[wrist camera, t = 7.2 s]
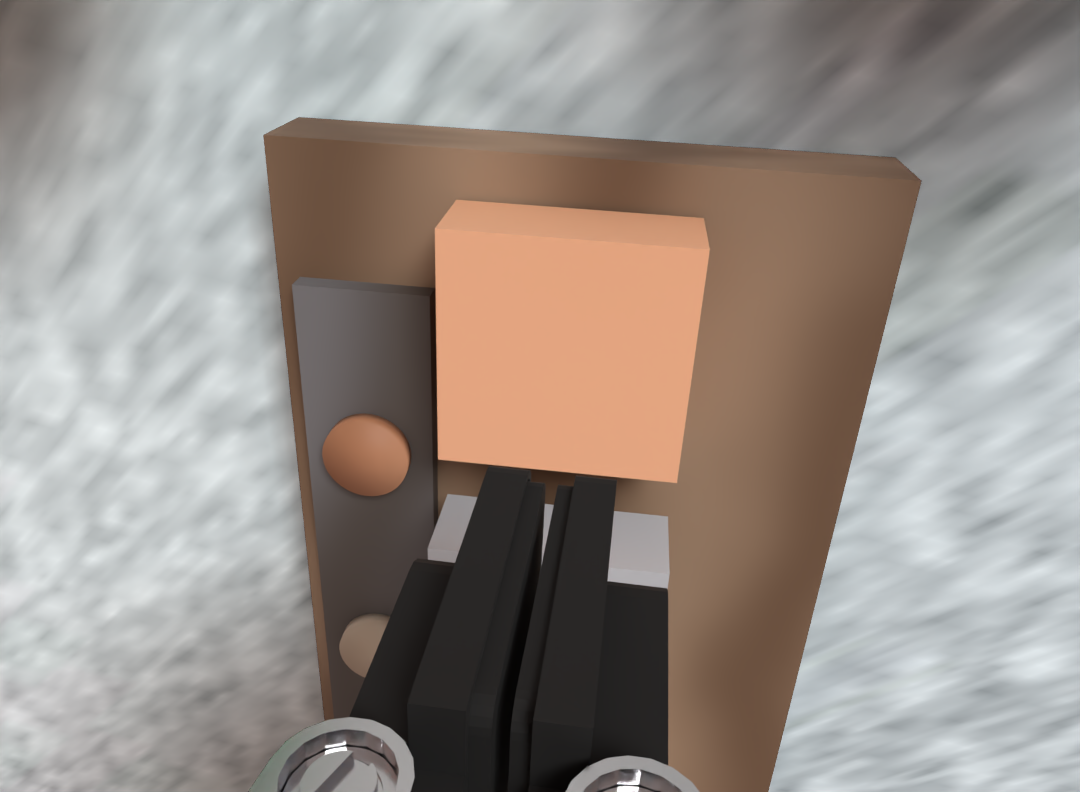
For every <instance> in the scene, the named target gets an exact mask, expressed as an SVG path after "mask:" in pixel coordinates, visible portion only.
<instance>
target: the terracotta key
mask: <svg viewBox="0 0 1080 792" xmlns="http://www.w3.org/2000/svg"><path fill="white" fill-rule="evenodd" d="M709 252H710V248H709V243H708V237H707V232H706V227H705V221H704V218H697V217H683V216H670V215H656V214H643V213H629V212H616V211H602V210H589V209H575V208H562V207H548V206H535V205H522V204H508V203H495V202H481V201H468V200H456V201H455V202H454V204H453V205H452V206H451V208H450V209H449V210H448V212H447V213H446V214H445V216H444V217H443V218H442V220H441V221H440V222H439V224H438V225H437V226H436V228H435V276H436V346H437V417H438V460H448V461H458V462H469V463H479V464H489V465H499V466H509V467H519V468H529V469H539V470H550V471H560V472H570V473H580V474H590V475H600V476H610V477H620V478H631V479H641V480H651V481H661V482H671V483H677V479H678V472H679V465H680V458H681V451H682V444H683V436H684V429H685V422H686V415H687V408H688V401H689V394H690V387H691V380H692V373H693V366H694V358H695V351H696V344H697V337H698V330H699V323H700V316H701V309H702V302H703V295H704V288H705V281H706V273H707V266H708V259H709Z"/></svg>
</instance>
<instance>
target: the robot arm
mask: <svg viewBox="0 0 1080 792" xmlns="http://www.w3.org/2000/svg"><path fill="white" fill-rule="evenodd" d="M616 486H617V480H615V479H606V478H597V477H588V476H578V475H576V476H575V481H574V486H568V485H558V487H557V491H556V496H555V501H554V506H553V511H552V516H551V521H550V526H549V531H548V536H547V541H546V546H545V551H544V556H543V560H542V546H543V528H544V510H545V492H546V485H545V483H540V482H531V471H530V470H523V469H514V468H505V467H495V466H489V467H488V469H487V471H486V474H485V477H484V479H483V482H482V485H481V488H480V491H479V494H478V497H477V500H476V503H475V506H474V509H473V512H472V515H471V517H470V520H469V523H468V526H467V529H466V532H465V535H464V538H463V541H462V544H461V547H460V550H459V552H458V555H457V558H456V561H455V563H452V562H443V561H435V560H427V559H418V558H417V559H416V560H415V561H414V562H413V564H412V566H411V568H410V570H409V572H408V575H407V577H406V579H405V582H404V584H403V587H402V589H401V592H400V594H399V596H398V599H397V601H396V604H395V606H394V609H393V611H392V613H391V616H390V618H389V621H388V623H387V626H386V628H385V631H384V633H383V635H382V638H381V640H380V643H379V645H378V648H377V650H376V652H375V655H374V657H373V660H372V662H371V665H370V667H369V670H368V672H367V674H366V677H365V679H364V682H363V684H362V687H361V689H360V691H359V694H358V696H357V699H356V701H355V704H354V706H353V708H352V711H351V713H350V716H349V717H347V718H339V719H330V720H326V721H323V722H321V723H318V724H315V725H312V726H310V727H307V728H305V729H304V730H302V731H301V732H299V733H297V734H296V735H294V736H293V737H291V738H290V739H288V740H287V741H286V742H285V743H284V744H283V745H282V746H281V747H280V749H279V750H278V751H277V752H276V753H275V754H274V755H273V756H272V757H271V759H270V760H269V762H268V763H267V765H266V766H265V768H264V769H263V771H262V772H261V774H260V775H259V777H258V778H257V779H256V781H255V782H254V784H253V785H252V787H251V788H250V790H249V791H248V792H699V790H698V789H697V788H696V787H695V785H694V784H693V783H692V782H691V781H690V780H689V779H687V778H686V777H685V776H683V775H682V774H681V773H679V772H678V771H677V770H675V769H674V768H672V767H670V766H668V590H667V588H661V587H652V586H644V585H636V584H627V583H619V582H611V581H607V580H608V570H609V559H610V549H611V538H612V528H613V517H614V507H615V496H616ZM541 564H542V565H541Z"/></svg>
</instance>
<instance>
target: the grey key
mask: <svg viewBox="0 0 1080 792" xmlns="http://www.w3.org/2000/svg"><path fill="white" fill-rule="evenodd" d="M476 500H477V497H472V496H462V495H452V494H447V497H446V500H445V502H444V505H443V508H442V511H441V513H440V516H439V519H438V522H437V524H436V527H435V530H434V532H433V535H432V538H431V541H430V543H429V546H428V560H435V561H443V562H452V563H455V561H456V558H457V555H458V552H459V550H460V547H461V544H462V541H463V538H464V535H465V532H466V529H467V526H468V523H469V520H470V517H471V515H472V512H473V509H474V506H475V503H476ZM553 506H554V505H551V504H545V510H544V528H543V546H542V560H543V556H544V551H545V546H546V541H547V536H548V531H549V526H550V521H551V516H552V511H553ZM541 565H542V564H541ZM669 575H670V570H669V535H668V516H658V515H649V514H639V513H629V512H619V511H614V517H613V528H612V538H611V549H610V559H609V570H608V580H607V581H611V582H619V583H627V584H636V585H644V586H652V587H661V588H667V589H668V582H669Z"/></svg>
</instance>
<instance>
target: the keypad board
mask: <svg viewBox="0 0 1080 792" xmlns="http://www.w3.org/2000/svg"><path fill="white" fill-rule="evenodd" d="M263 136H264V145H265V155H266V164H267V174H268V184H269V193H270V203H271V212H272V222H273V231H274V241H275V251H276V260H277V270H278V279H279V289H280V298H281V308H282V318H283V327H284V337H285V346H286V356H287V365H288V375H289V385H290V394H291V404H292V413H293V423H294V432H295V442H296V451H297V461H298V471H299V480H300V490H301V499H302V509H303V518H304V528H305V538H306V547H307V557H308V566H309V576H310V585H311V595H312V605H313V614H314V624H315V633H316V643H317V652H318V662H319V672H320V681H321V691H322V700H323V710H324V719H325V721H326V720H330V719H339V718H347V717H349V716H350V713H351V711H352V708H353V706H354V704H355V701H356V699H357V696H358V694H359V691H360V689H361V687H362V684H363V682H364V679H365V677H366V674H367V672H368V670H369V667H370V665H371V662H372V660H373V657H374V655H375V652H376V650H377V648H378V645H379V643H380V640H381V638H382V635H383V633H384V631H385V628H386V626H387V623H388V621H389V618H390V616H391V613H392V611H393V609H394V606H395V604H396V601H397V599H398V596H399V594H400V592H401V589H402V587H403V584H404V582H405V579H406V577H407V575H408V572H409V570H410V568H411V566H412V564H413V562H414V561H415V560H416V559H417V558H418V559H427V560H428V546H429V543H430V541H431V538H432V535H433V532H434V530H435V527H436V524H437V522H438V519H439V516H440V513H441V511H442V508H443V505H444V502H445V500H446V497H447V494H452V495H462V496H472V497H478V494H479V491H480V488H481V485H482V482H483V479H484V477H485V474H486V471H487V469H488V467H489V466H495V467H505V468H514V469H523V470H530V471H531V482H540V483H545V485H546V492H545V504H551V505H554V501H555V496H556V491H557V487H558V485H568V486H574V481H575V476H576V475H578V476H588V477H597V478H606V479H615V480H617V486H616V496H615V507H614V511H619V512H629V513H639V514H649V515H658V516H668V535H669V570H670V575H669V582H668V589H667V590H668V766H670V767H672V768H674V769H675V770H677V771H678V772H679V773H681V774H682V775H683V776H685V777H686V778H687V779H689V780H690V781H691V782H692V783H693V784H694V785H695V787H696V788H697V789H698V790H699V792H768V790H769V786H770V782H771V778H772V774H773V771H774V767H775V763H776V759H777V755H778V751H779V747H780V743H781V739H782V735H783V731H784V727H785V723H786V719H787V715H788V711H789V707H790V703H791V699H792V695H793V691H794V687H795V683H796V679H797V675H798V671H799V667H800V663H801V659H802V655H803V651H804V647H805V643H806V639H807V635H808V631H809V627H810V623H811V619H812V615H813V611H814V607H815V603H816V599H817V595H818V591H819V587H820V583H821V579H822V575H823V571H824V567H825V563H826V559H827V555H828V551H829V547H830V543H831V539H832V535H833V531H834V527H835V523H836V519H837V515H838V511H839V507H840V503H841V499H842V495H843V491H844V487H845V484H846V480H847V476H848V472H849V468H850V464H851V460H852V456H853V452H854V448H855V444H856V440H857V436H858V432H859V428H860V424H861V420H862V416H863V412H864V408H865V404H866V400H867V396H868V392H869V388H870V384H871V380H872V376H873V372H874V368H875V364H876V360H877V356H878V352H879V348H880V344H881V340H882V336H883V332H884V328H885V324H886V320H887V316H888V312H889V308H890V304H891V300H892V296H893V292H894V288H895V284H896V280H897V276H898V272H899V268H900V264H901V260H902V256H903V252H904V248H905V244H906V240H907V236H908V232H909V228H910V224H911V220H912V216H913V212H914V208H915V204H916V201H917V197H918V193H919V189H920V185H921V180H920V179H919V178H918V177H917V176H916V175H914V174H913V173H912V172H911V171H910V170H909V169H908V168H907V167H905V166H904V165H903V164H902V163H901V162H900V161H899V160H898V159H896V158H893V157H879V156H864V155H849V154H834V153H819V152H805V151H790V150H775V149H760V148H745V147H731V146H716V145H701V144H686V143H672V142H657V141H642V140H627V139H612V138H598V137H583V136H568V135H553V134H538V133H524V132H509V131H494V130H479V129H464V128H450V127H435V126H420V125H405V124H390V123H376V122H361V121H346V120H331V119H316V118H302V117H298V118H296V119H294V120H292V121H290V122H288V123H286V124H284V125H282V126H280V127H278V128H276V129H274V130H272V131H271V132H269V133H267V134H265V135H263ZM456 200H468V201H481V202H495V203H508V204H522V205H535V206H548V207H562V208H575V209H589V210H602V211H616V212H629V213H643V214H656V215H670V216H683V217H697V218H704V221H705V227H706V232H707V237H708V243H709V248H710V252H709V259H708V266H707V273H706V281H705V288H704V295H703V302H702V309H701V316H700V323H699V330H698V337H697V344H696V351H695V358H694V366H693V373H692V380H691V387H690V394H689V401H688V408H687V415H686V422H685V429H684V436H683V444H682V451H681V458H680V465H679V472H678V479H677V483H671V482H661V481H651V480H641V479H631V478H620V477H610V476H600V475H590V474H580V473H570V472H560V471H550V470H539V469H529V468H519V467H509V466H499V465H489V464H479V463H469V462H458V461H448V460H438V417H437V346H436V276H435V228H436V226H437V225H438V224H439V222H440V221H441V220H442V218H443V217H444V216H445V214H446V213H447V212H448V210H449V209H450V208H451V206H452V205H453V204H454V202H455V201H456Z"/></svg>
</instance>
